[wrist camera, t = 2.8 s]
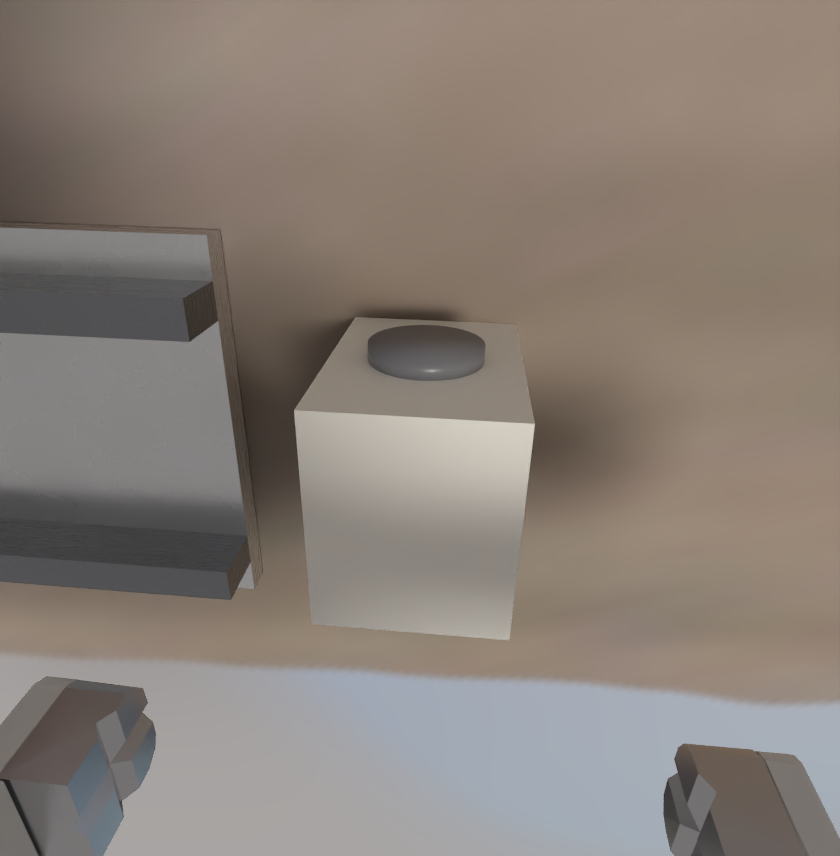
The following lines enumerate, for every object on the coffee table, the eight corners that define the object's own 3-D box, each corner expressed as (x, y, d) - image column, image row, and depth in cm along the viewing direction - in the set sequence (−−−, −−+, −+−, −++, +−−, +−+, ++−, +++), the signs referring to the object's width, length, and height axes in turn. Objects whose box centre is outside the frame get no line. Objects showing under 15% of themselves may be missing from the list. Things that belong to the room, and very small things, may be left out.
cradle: (-92, 544, 25) (-161, 595, 22) (-242, 213, 19) (-361, 227, 16) (262, 571, 24) (235, 628, 21) (220, 229, 18) (174, 247, 15)
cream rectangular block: (360, 479, 21) (311, 624, 15) (355, 302, 19) (292, 390, 12) (500, 488, 21) (509, 640, 15) (517, 309, 18) (536, 404, 12)
